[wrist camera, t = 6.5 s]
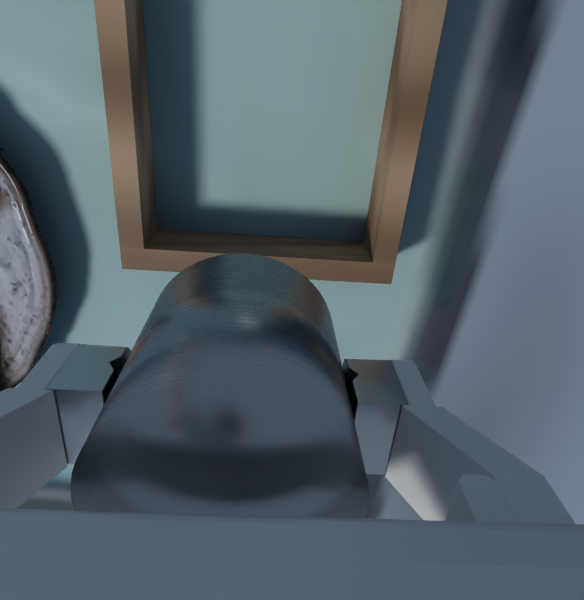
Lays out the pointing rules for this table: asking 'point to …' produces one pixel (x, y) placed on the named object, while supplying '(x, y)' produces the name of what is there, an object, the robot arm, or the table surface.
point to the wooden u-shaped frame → (292, 251)
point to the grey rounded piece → (229, 404)
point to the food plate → (22, 282)
